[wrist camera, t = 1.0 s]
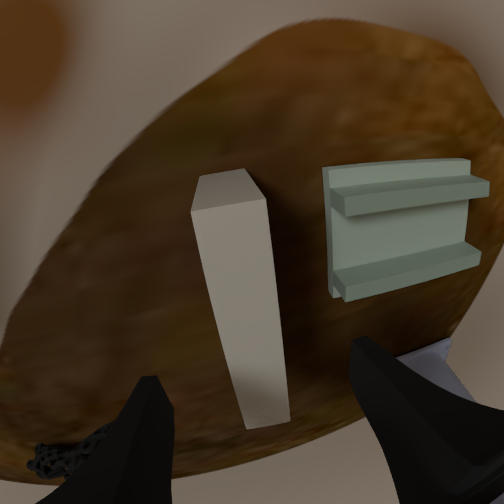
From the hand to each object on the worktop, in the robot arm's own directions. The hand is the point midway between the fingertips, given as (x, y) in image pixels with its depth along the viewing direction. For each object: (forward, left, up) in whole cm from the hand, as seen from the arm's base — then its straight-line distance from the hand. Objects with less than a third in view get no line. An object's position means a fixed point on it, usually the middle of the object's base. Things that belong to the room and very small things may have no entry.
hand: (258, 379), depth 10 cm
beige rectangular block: (0, 0, -9) cm, 9 cm away
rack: (+1, -11, -9) cm, 14 cm away
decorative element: (-18, +21, -9) cm, 29 cm away
